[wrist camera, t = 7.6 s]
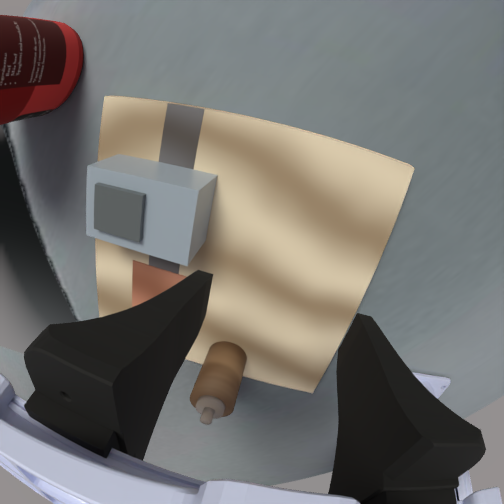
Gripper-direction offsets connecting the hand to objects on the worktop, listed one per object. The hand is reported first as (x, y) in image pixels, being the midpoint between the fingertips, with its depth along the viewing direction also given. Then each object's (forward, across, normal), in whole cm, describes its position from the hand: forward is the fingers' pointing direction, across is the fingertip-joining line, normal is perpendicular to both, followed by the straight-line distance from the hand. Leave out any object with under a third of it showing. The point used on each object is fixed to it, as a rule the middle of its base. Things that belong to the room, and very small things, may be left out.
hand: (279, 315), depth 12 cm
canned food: (+10, +21, -8) cm, 25 cm away
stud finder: (+9, +9, 0) cm, 12 cm away
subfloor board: (+10, +4, +4) cm, 11 cm away
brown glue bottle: (+9, +2, +12) cm, 15 cm away
